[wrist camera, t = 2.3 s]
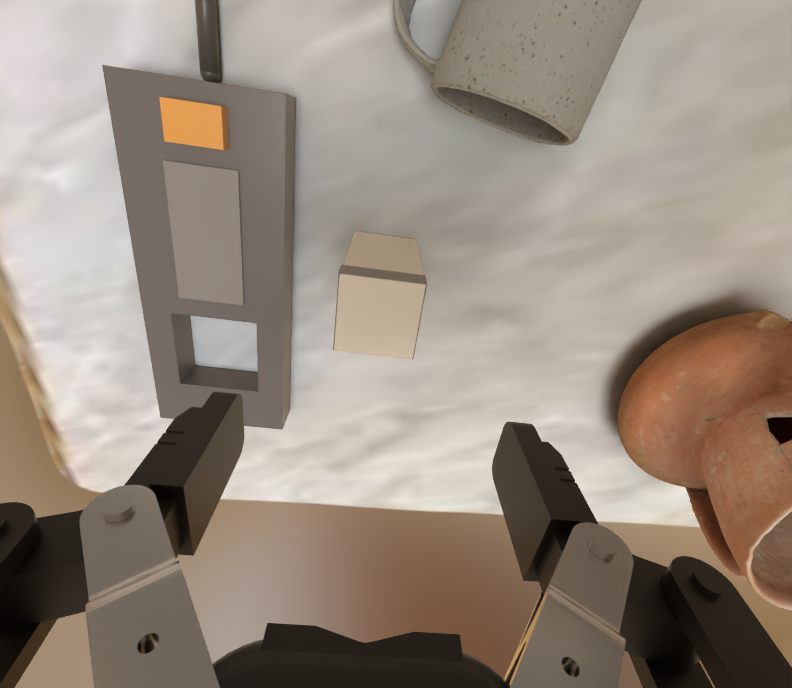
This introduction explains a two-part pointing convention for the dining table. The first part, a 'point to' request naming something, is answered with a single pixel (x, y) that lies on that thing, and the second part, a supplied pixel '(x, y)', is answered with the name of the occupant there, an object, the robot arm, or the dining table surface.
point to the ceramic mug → (526, 61)
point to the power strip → (209, 222)
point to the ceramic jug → (724, 438)
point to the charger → (379, 296)
